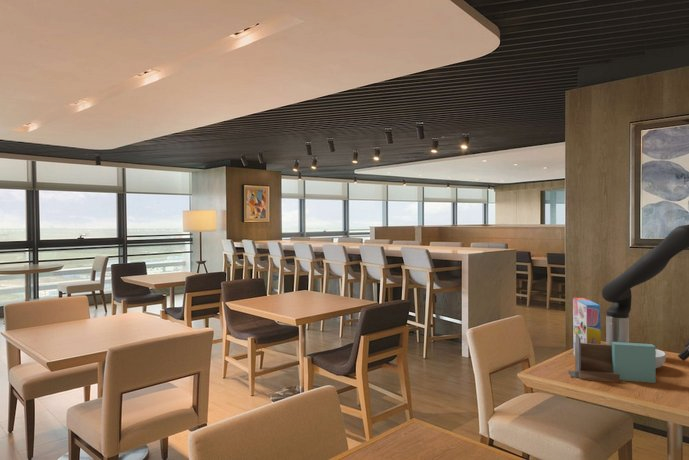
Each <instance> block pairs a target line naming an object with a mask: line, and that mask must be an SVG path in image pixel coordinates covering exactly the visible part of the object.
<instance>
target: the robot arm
mask: <svg viewBox="0 0 689 460" xmlns="http://www.w3.org/2000/svg"><path fill="white" fill-rule="evenodd" d="M686 249H689V224H686V225H685V224H684V225H679V226H677V227H675V228H674V229H673V230H671V231H670V232H669V233H668V234H667V236H665V237H664V238H663V240H662V241H660V243H659V244H658V245H656V246H654V247H653V248H652V249H650V250H649V251H648V252H646V253H645V254H644V255H642V256H641V257H640V258H639V259H638V260H636V261H635V262H634V263H633V264H632V265H631V266H630V267H628V268H627V269H625V271H624V272H623V273H621V274H620V275H618V276H617V277H616V278H613V280H611V281H609V282H607V283H606V284H605V285H604V286H603V288H602V289H601V295H602V298H603V299H604V300H605V301H607V302H608V303H611V305H610V306H609V307H608V308H606V311H605V312H606V313H605V319H606V320H605V326H606V329H605V331H606V332H605V333H606V335H605V336H606V337H605V340H606V341H605V342H606V343H605V344H608V345H612V342H624V343H630V313H631V309H632V288H634V287H637V286H638V285H640V284H643V283H645V282H648V281H650V280H651V279H653V278H655V277H656V276H657V275H658V274H660V273H661V272H662V271H663V270H665V268H666V267H667V265H668V264H669V262H670V261H671V260H672V259H673V258H674V257H675V256H677V255H678V254H679V253H681V252H682V251H684V250H686ZM677 357H678V358H679V359H680V360H681V361H683V362H684V361H686V360H687V359H689V339H688V340H687V341H686V343H685V344H684V350H683V351H682V352H680V353H679V354H678V355H677Z"/></svg>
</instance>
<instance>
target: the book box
mask: <svg viewBox="0 0 689 460" xmlns="http://www.w3.org/2000/svg"><path fill="white" fill-rule="evenodd" d="M656 349H657V348H656V346H655V345H654V344H652V343H636V342H629V343H624V342H612V373H619V375H620V381H628V382H640V383H653V384H656V381H657V380H656V377H657V376H656V374H657V373H656V372H657V371H656V369H657V368H656Z"/></svg>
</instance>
